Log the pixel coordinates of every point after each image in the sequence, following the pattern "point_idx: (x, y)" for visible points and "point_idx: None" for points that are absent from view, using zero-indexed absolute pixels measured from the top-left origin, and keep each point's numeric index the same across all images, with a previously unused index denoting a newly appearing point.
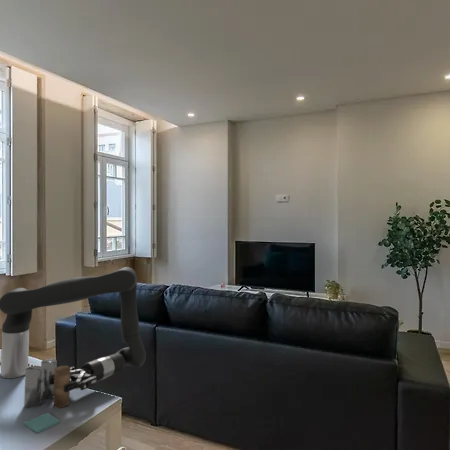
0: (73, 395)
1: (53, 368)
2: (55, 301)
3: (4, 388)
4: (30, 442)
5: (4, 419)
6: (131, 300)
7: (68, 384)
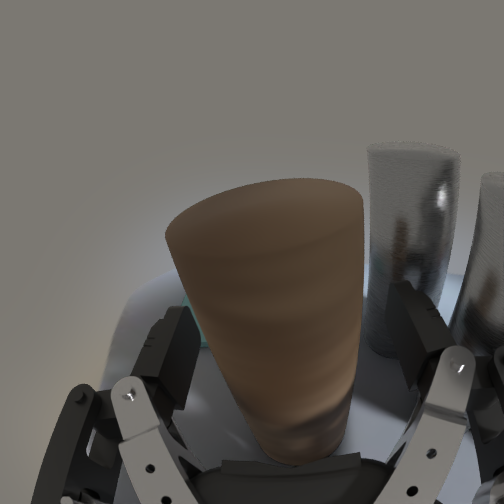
0: None
1: (492, 260)
2: None
3: None
4: (175, 274)
5: None
6: None
7: (164, 323)
